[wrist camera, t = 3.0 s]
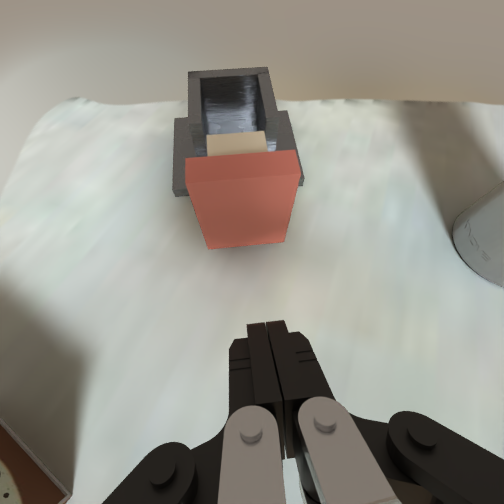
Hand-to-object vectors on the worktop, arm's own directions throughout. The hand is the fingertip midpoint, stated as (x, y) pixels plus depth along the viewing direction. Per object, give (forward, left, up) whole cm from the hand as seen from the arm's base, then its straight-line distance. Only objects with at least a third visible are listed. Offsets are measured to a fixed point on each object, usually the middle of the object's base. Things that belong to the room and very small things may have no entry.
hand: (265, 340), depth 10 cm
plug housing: (0, -22, -12) cm, 25 cm away
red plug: (0, -14, -10) cm, 17 cm away
